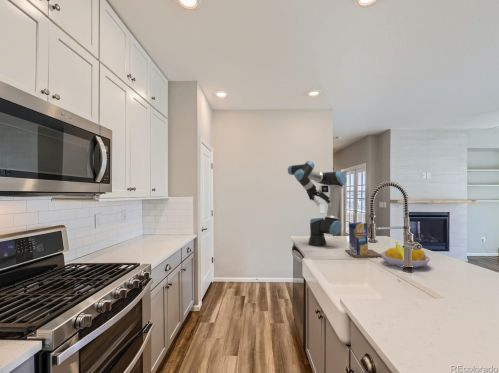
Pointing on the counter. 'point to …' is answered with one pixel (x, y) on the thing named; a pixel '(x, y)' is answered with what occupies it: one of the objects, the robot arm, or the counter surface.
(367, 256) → the walnut board
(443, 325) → the counter surface
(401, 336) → the counter surface
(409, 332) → the counter surface
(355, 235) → the blue cardboard box
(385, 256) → the fruit bowl
